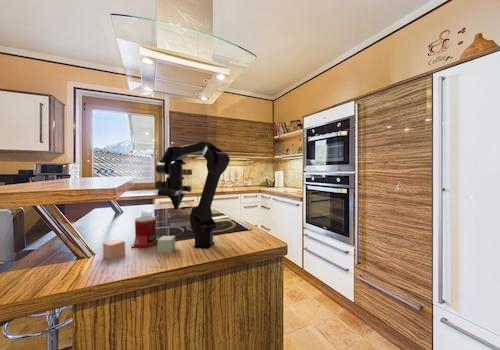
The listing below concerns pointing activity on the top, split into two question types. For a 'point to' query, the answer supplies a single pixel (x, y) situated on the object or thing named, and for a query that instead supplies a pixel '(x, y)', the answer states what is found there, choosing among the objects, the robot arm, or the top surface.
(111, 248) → the terracotta block
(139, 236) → the canned food
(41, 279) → the top surface
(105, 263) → the top surface
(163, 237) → the sage block
